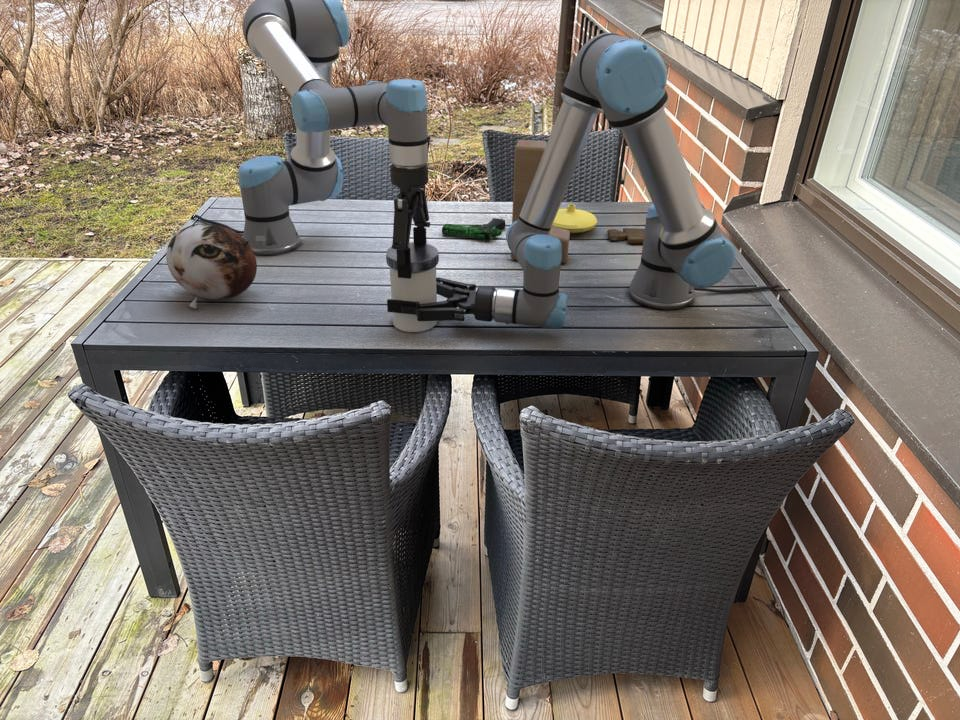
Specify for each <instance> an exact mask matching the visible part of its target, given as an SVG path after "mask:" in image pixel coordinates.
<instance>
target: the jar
mask: <svg viewBox="0 0 960 720" xmlns="http://www.w3.org/2000/svg"><path fill="white" fill-rule="evenodd" d="M389 277H390V279H389V281H390V295H391V298H390V299H392V300H403V301H413V302H417V301H418V302H419V303H420V304H425V303H433V302H438V300H437V297H438V296H437V295H438V294H437V293H436V278H437V265H436V266H435V267H433V268H431V269H429V270H425V271H420V272H411V279H408V278H398V270H395V269H392V268H391V267H389ZM391 315H392V325H393V326H394V327H395V328H396V329H397V330H400V331H402V332H409V333H421V332H424V331H428V330H431V329H433V328H434V327H435V326H436V325H437V323H438V321H418V320H417V315H413V314H403V313H393V312H391Z"/></svg>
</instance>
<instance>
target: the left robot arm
mask: <svg viewBox="0 0 960 720" xmlns="http://www.w3.org/2000/svg"><path fill="white" fill-rule="evenodd" d="M242 34H243V38H244V40H245V42H246V44H247V46H248V48H249V49H250V51H251V52H252V53H253V54H254V55H255V56H256V57H257V58H259V59H262V60H263V61H264V62H265V63H266V64H267V66H268V67H269V69H270V70H271V71H272V72H273V74H274V75H275V76H276V78H277V79H278V80H279V82H280V83H281V85H282V86H283V87H284V88H285V90H286V92H287V93H288V94H289V96H290V97H291V101H290V108H291V109H290V110H291V115H292V118H293V120H294V124H295V126H296V127H295V129H296V145H295V146H294V147H293V148H292V149H291V150H290V159H289V160H283V158H282V157H281V156H279V155H272V154H271V155H262V156H257V157H253V158H250V159H248V160H245V161H244V162H243V163H241V165H240V166H239V167H238V170H237V174H238V186H239V190H240V196H241V201H242V208H243V212H244V213H243V215H244V219H245V220H244V226H243V228H244V229H243V230H239V229H236V228H233V227H231V226H229V225H227V224H224V223H223V222H218V221H214V220H211V219H207V218H205V217H204V218H203V217H202V216H200V215H198V214H192V216H190V220H194V219H198V220H200V221H202V222H204V223H206V224H216V225H220V226H224V227H226V228H229V229H231V230H233V231H234V232H236V233H237V234H239V235H240V234H241V235H242V237H243V238H244V239H245V240H246V241H249V242H248V244H249V245H250V247H251V248H252V250H253V252H254V254H255V256H256V255H257V256H275V255H281V254H282V255H283V254H285V253H289V252H291V251H293V250H296V249H297V248H298V247H299V246H300V244H301V241H300V235H299V233H298V231H297V229H296V227H295V225H294V223H293V220H292V218H291V216H290V206H295V205H301V204H308V203H314V202H324V201H326V200H330V199H334V198H336V197H338V196H339V195H340V193H341V191H342V189H343V184H344V173H343V166H342V162H341V160H340V158H339V157H338V156H337V155H336V153H335V152H334V150H333V149H332V148H331V131H333V130H341V129H350V128H359V127H360V128H361V127H369V126H376V125H384V126H386V127H387V133H388V145H387V146H386V150H388V151H389V162H390V164H391V165H390V166H389V171H390V172H389V173H390V183H391V184H392V185H393V186H394V187H398V189H399V193H398V194H397V195H398V196H397V198H393V211H394V212H393V226H392V227H393V228H392V229H393V230H392V244H391V247H392V248H393V249H397V270H398V278H408V279H411V252H410V248H409V243H410V240H411V239H410V238H411V232H412V237H413V243H425V244H428V243H427V228H430V227H431V222H430V215H429V207H428V200H427V193H426V185H427V184H428V183H429V166H428V164H427V163H428V162H429V146H428V145H429V144H428V100H427V90H426V89H427V88H426V85H425V84H424V82H422V81H421V80H418V79H412V78H399V79H397V78H396V79H392V80H390V81H388V82H385V81H381V80H380V81H379V80H371V81H368V82H366V83H365V84H363V85H356V86H354V85H353V86H344V87H332V83H333V63H335V62H336V61H337V60H338V59H339V56H340V48H344V47H345V46H347V45H348V43H349V40H350V27H349V21H348V16H347V13H346V10H345V8H344V6H343V3H342V2H341V0H253V2H251V4H249V6H248V7H247V9H246V11H245V13H244V16H243V19H242ZM194 215H195V216H194ZM193 216H194V217H193ZM412 223H413V224H414V227H413V228H412V225H413V224H412ZM411 230H412V231H411Z"/></svg>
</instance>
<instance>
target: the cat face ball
mask: <svg viewBox="0 0 960 720" xmlns="http://www.w3.org/2000/svg"><path fill="white" fill-rule="evenodd" d="M248 242H249V241H246V240H245V239H244V238H243V236H242V235H240V234H238V233H236V232H234V231H233V230H231V229H229V228H226V227H224V226H220V225H216V224H211V223H207V222H204V223H195V224H191V225H188V226H186V227H183V228H182V229H180V230H179V231H177V232H176V233H175V234H174V235H173V237H171V239H170V241H169V243H168V245H167V248H166V254H165V260H166V265H167V268H168V271H169V273H170V275H171V276H172V277H173V279H174V280H175V281H176V282H177V284H178V285H180V286H181V287H182V288H183V289H185V290H186V291H187V292H189V293H191V294H194V295H195V298H194V299H193V300H192V302H190V303H189V304H188V306H189V307H191V308H192V309H197V308H198V307H197V298H198V297H201V298H205V299H210V300H226V299H230V298H233V297H236V296H238V295H241V294H242V293H244V292H245V291H247V290H248V289H249V288H250V286H251V285H252V284H253V282H254V280H255V278H256V275H257V271H258V262H257V257H256V254H254V252H253V250H252V248H251V247H250V245H249V244H248Z"/></svg>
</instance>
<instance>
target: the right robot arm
mask: <svg viewBox="0 0 960 720" xmlns="http://www.w3.org/2000/svg"><path fill="white" fill-rule="evenodd" d="M666 67H667V66H666V64H665V61H664V60H663V57H662V56H661V54H659V52H658V51H657V50H656V49H655V48H653V47H651V45H650V44H648V43H647V42H645V41H642V40H640V39H635V38H630V37H627V36H624V35H622V34H619V33H616V32H603V33H600V34H597V35H595V36H593V37H591V38H590V39H588V41H586V42H585V43H584V44H583V45H582V47H581V48H580V50H579V51H578V53H577V54H576V56H575V57H574V60H573V62H572V64H571V66H570V68H569V71H568V74H567V77H566V79H565V82H564V84H563V87H562V90H561V92H560V96H561V99H562V103H561V106H560V109H559V111H558V114H557V116H556V119H555V121H554V124H553V127H552V129H551V131H550V135H549V137H548V140H547V141H546V142H547V145H546V148H545V150H544V153H543V155H542V158H541V161H540V163H539V166H538V169H537V171H536V174H535V176H534V179H533V182H532V184H531V187H530V189H529V192H528V195H527V197H526V200H525V202H524V205H523V208H522V210H521V213H520V215H519V218H518V220H517V221H515V222H513V223H512V222H511V224H510V225H509V226H508V228H507V230H506V233H505V242H506V243H507V246H508V249H509V251H510V253H511V252H512V253H513V254H514V256H515V257H516V259H517V260H516V261H517V262H518V264H519V266H520V267H521V269H522V271H523V279H522V280H523V283H522V284H523V285H522V289H519V288H510V287H498V288H497V289H496V288H495V286H486V285H478V287H477V285H476V284H475V283H465V282H462V281H457V280H452V279H448V278H443V277H441V276H440V277H437V276H436V293H437V295H438V296H441V297H443V298H446V300H439V301H437V302H433V303H425V304H420V303H419V302H418V301H417V302H413V301H403V300H392V299H391V298H387V299H386V307H387V308H386V309H387V313H392V312H393V313H403V314H413V315H417V320H418V321H437V322H445V321H446V322H447V321H453V322H455V321H456V322H465V316H466V315H473V316H474V319H475V320H476V321H478V322H487V323H491V322H493V321H494V322H495V323H498V324H499V323H501V324H505V325H511V324H512V325H519V326H526V327H527V326H528V327H535V328H536V327H537V328H542V329H561V328H563V327H564V326H565V325H566V321H567V311H568V299H569V297H568V294H566V293H563V292H560V278H561V277H560V276H561V266H562V263H561V261H562V245H561V242H560V240H559V239H558V238H556V237H553V236H551V235H549V232H550V230H551V227H552V224H553V222H554V219H555V217H556V215H557V212H558V210H559V209H560V207H561V205H562V202H563V200H564V197H565V195H566V193H567V190H568V189H569V186H570V183H571V180H572V179H573V177H574V173H575V171H576V170H577V169H576V168H577V166H578V163H579V162H580V158H581V157H582V154H583V151H584V149H585V147H586V144H587V142H588V139H589V137H590V136H591V135H590V134H591V132H592V130H593V127H594V125H595V123H596V120H597V119H598V116H599V115H600V114H602V113H604V116H605V117H606V120H607V122H608V125H609V126H610V128H612V129H614V130H618V131H621V133H622V136H623V138H624V141H625V143H626V145H627V147H628V149H629V151H630V154H631V156H632V158H633V160H634V161H633V162H634V164H635V166H636V168H637V171H638V172H639V174H640V177H641V180H642V182H643V184H644V186H645V188H646V191H647V193H648V195H649V197H650V200H651V202H652V203H651V204H650V205H649V206H648V209H647V214H646V217H645V225H644V229H645V232H644V240H643V243H642V248H641V256H640V263H639V265H638V267H637V269H636V271H635V274H634V275H633V277H632V279H631V281H630V284H629V286H628V296H629V298H631V300H633V302H635V303H638V304H639V305H642V306H644V307H647V308H652V309H656V310H666V311H668V310H679V309H680V310H681V309H684V308H686V307H689V306H690V305H692V304H693V302H694V297H695V291H697V292H710V293H718V294H719V293H720V294H723V293H725V294H727V293H728V294H729V293H740V292H750V291H752V292H753V291H760V290H771V289H777V288H778V289H779V288H781V287H780V286H779V284H773V285H764V286H763V285H762V286H754V287H744V288H733V289H715V288H709V287H713V286H715V285H717V284H718V283H720V282H721V281H722V280H724V279H725V278H726V277H727V276H728V275H729V273H730V272H731V269H732V268H733V267H734V265H735V262H736V248H735V247H734V245H733V244H732V242H731V240H729V239H728V238H726V237H725V236H723V234H722V232H721V229H720V227H719V223H718V222H717V219H716V217H715V214H714V212H712V211H711V210H709V209H707V208H703V205H702V202H701V199H700V196H699V195H698V192H697V188H696V187H695V185H694V181H693V180H692V177H691V174H690V172H689V169H688V167H687V164H686V161H685V159H684V157H683V154H682V152H681V149H680V146H679V144H678V141H677V138H676V136H675V134H674V131H673V128H672V125H671V123H670V121H669V118H668V116H667V113H666V111H665V108H666V106H667V104H668V102H669V95H668V91H667V90H666V85H667V83H668V73H667V68H666Z"/></svg>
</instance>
